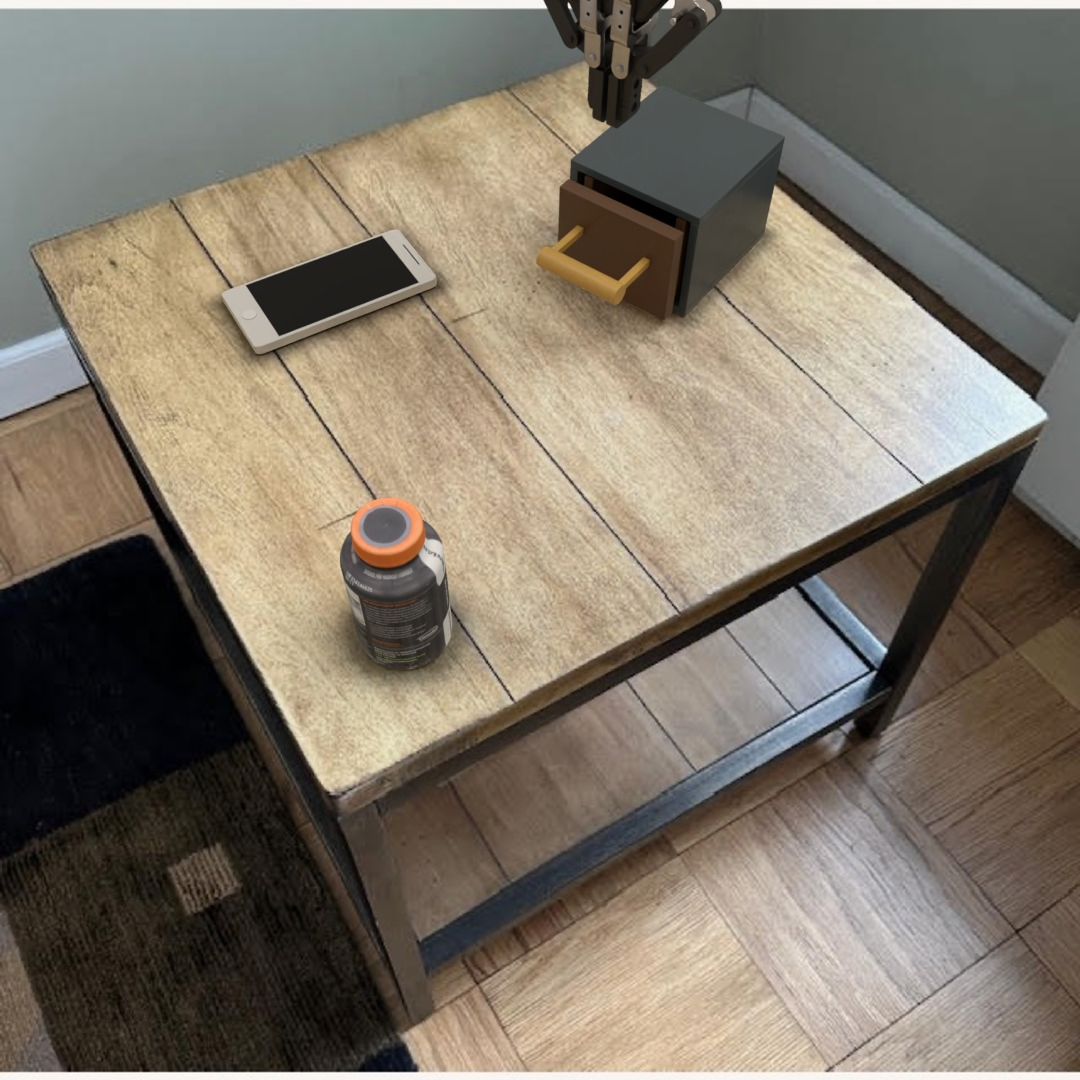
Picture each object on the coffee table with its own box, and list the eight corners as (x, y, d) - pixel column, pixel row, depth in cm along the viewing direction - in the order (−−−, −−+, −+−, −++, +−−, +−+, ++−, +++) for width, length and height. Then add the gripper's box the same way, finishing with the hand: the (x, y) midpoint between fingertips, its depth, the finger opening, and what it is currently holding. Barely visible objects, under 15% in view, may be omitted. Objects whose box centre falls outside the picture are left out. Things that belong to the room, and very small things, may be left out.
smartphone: (222, 300, 86) (219, 291, 85) (398, 235, 91) (397, 226, 90) (257, 356, 83) (255, 347, 82) (438, 286, 87) (438, 276, 87)
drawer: (627, 358, 82) (635, 278, 76) (519, 301, 85) (518, 220, 79) (739, 244, 90) (755, 163, 83) (636, 196, 93) (644, 115, 87)
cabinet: (684, 317, 86) (700, 218, 78) (566, 258, 90) (570, 159, 82) (764, 235, 92) (785, 136, 84) (650, 184, 95) (660, 84, 88)
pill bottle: (469, 612, 70) (460, 503, 60) (424, 687, 66) (408, 584, 57) (387, 578, 71) (366, 467, 62) (339, 650, 68) (310, 545, 59)
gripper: (778, -166, 58) (728, 128, 72) (572, -229, 62) (563, 59, 76) (702, -114, 54) (666, 184, 68) (490, -185, 59) (497, 108, 73)
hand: (612, 117), depth 72 cm, fingers closed
